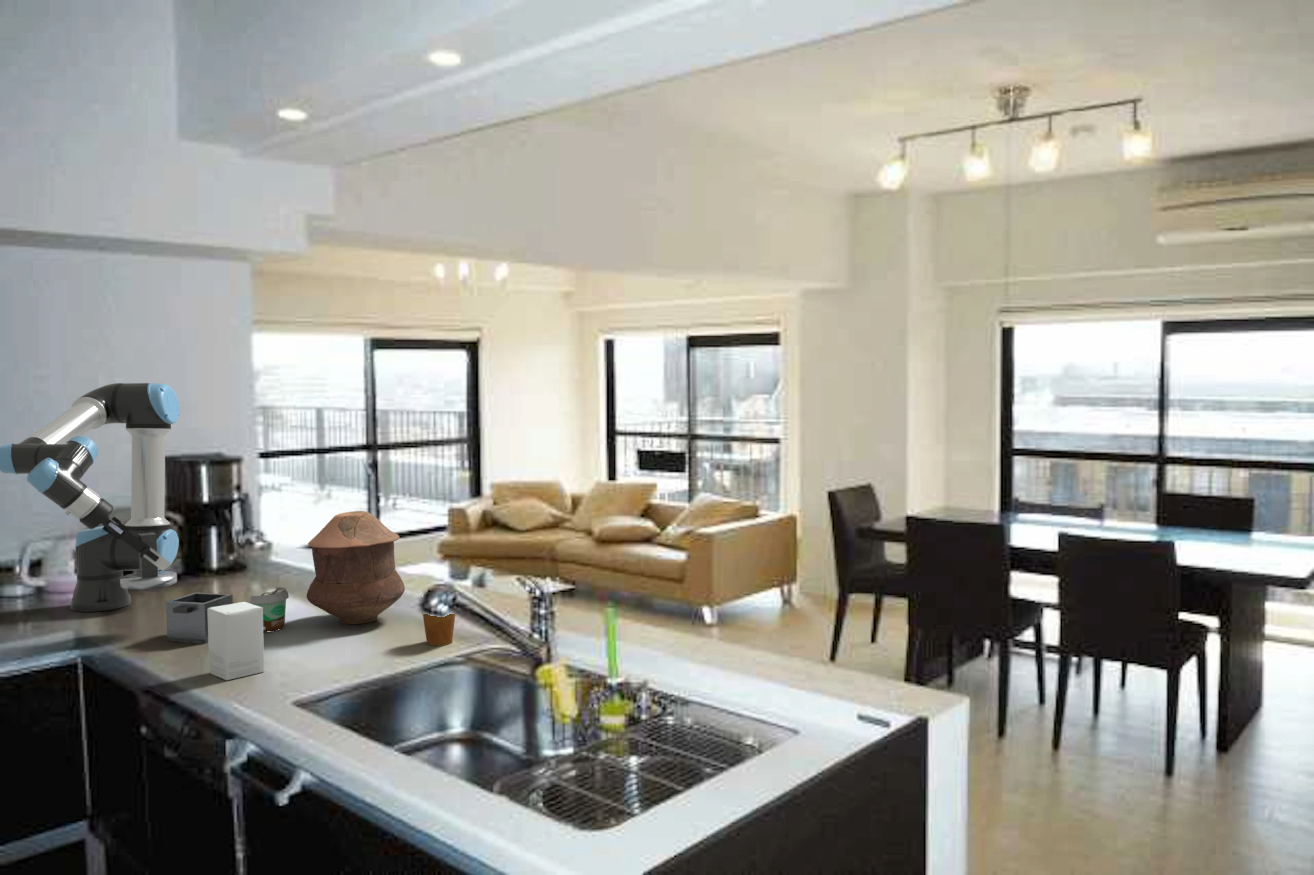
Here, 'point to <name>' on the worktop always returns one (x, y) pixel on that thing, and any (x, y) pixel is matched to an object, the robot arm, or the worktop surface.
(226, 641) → the supplement box
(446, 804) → the worktop surface
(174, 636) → the grey open storage bin
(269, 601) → the food container
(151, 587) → the lid
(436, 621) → the disposable coffee cup
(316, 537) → the pottery vessel
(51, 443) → the robot arm
